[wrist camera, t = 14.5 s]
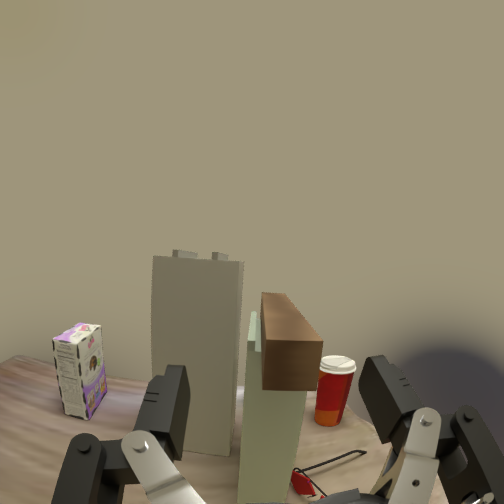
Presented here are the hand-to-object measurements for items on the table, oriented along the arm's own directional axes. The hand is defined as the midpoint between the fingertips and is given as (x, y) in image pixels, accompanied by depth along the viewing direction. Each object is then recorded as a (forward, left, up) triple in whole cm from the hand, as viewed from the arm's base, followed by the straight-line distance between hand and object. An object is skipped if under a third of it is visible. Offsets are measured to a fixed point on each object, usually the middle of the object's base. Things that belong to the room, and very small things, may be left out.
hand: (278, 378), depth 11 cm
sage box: (+1, +20, -27) cm, 34 cm away
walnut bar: (+1, +18, -3) cm, 18 cm away
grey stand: (-10, +31, -27) cm, 42 cm away
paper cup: (+15, +38, -27) cm, 49 cm away
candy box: (-35, +32, -27) cm, 55 cm away
